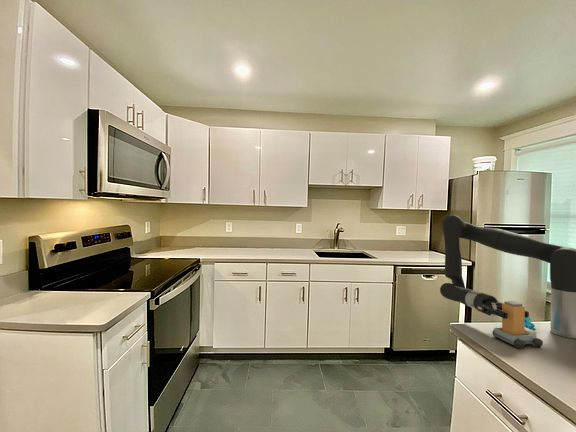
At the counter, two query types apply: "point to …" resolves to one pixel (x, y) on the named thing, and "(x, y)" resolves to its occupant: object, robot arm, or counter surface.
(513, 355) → the counter surface
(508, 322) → the orange tower grey cap
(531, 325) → the gear
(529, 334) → the truck
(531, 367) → the counter surface
